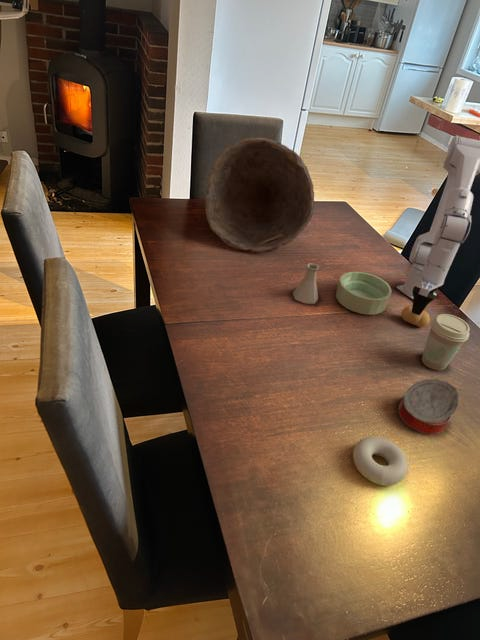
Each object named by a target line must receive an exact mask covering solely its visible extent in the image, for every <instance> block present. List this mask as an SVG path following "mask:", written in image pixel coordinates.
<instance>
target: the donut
mask: <svg viewBox="0 0 480 640" xmlns="http://www.w3.org/2000/svg"><path fill="white" fill-rule="evenodd" d="M374 455H375V456H376V455H377V456H379V457H382V458H384V460H386V461H387V463H388V465H382V464H379V463H378V462H376V461H375V460H374V458H373V456H374ZM352 458H353V464H354V465H355V467H356V470H357V471H358V472H359V473H360V475H362V476H363V477H364V478H366V480H368V481H370V482H372V483H374V484H377V485H379V486H386V487H387V486H394V485H397V484H399V483H400V482H403V480H404V479H405V477H406V476H407V474H408V469H409V464H408V459H407V456H406V454H405V453H404V452H403V449H401V448H400V447H399V446H398V445H397V444H396V443H395V442H393V441H391V440H389V439H388V438H385V437H382V436H375V435H373V436H372V435H371V436H366V437H364V438H362V439H360V440H359V441H358V442H357V443H356V444H355V446H354V447H353V452H352Z"/></svg>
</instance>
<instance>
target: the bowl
mask: <svg viewBox="0 0 480 640" xmlns="http://www.w3.org/2000/svg"><path fill="white" fill-rule="evenodd" d="M313 183H314V182H313V181H312V178H311V175H310V173H309V169H308V166H307V165H306V164H305V163H304V160H303V159H302V158H301V156H300V155H299V154H298V153H297V152H295V150H293V149H291V148H289V147H288V146H286V145H285V144H282V142H278V141H276V140H274V139H271V138H266V137H247V138H243V139H241V140H239V141H238V142H236V143H233V144H231V145H229V146H227V147H226V148H225V149H224V150H223V151H221V153H219V154H218V156H216V158H215V161H214V162H213V163H212V164H211V166H210V169H209V176H208V181H207V185H206V195H205V198H204V203H205V204H204V205H205V207H204V208H205V209H204V210H205V215H206V221H207V222H208V224H209V227H210V229H211V231H212V232H213V233H215V234H216V235H217V237H219V238H220V239H221V240H222V241H223V243H224V244H226V245H227V246H229V247H232V248H233V249H235V250H239V251H240V250H241V251H246V252H247V251H251V253H265V252H271V251H275V250H277V249H278V248H280V247H282V246H283V247H284V246H285V245H287V244H290V243H291V242H293V241H294V240H295V239H296V238H297V237H298V236H299V235H300V234H301V233H302V232H303V231H304V230H305V229H306V228H307V226H308V224H309V223H310V221H311V220H312V218H313V214H314V210H315V191H314V184H313Z"/></svg>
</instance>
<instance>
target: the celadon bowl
mask: <svg viewBox="0 0 480 640" xmlns="http://www.w3.org/2000/svg"><path fill="white" fill-rule="evenodd" d="M392 292H393V290H392V288H391V286H390V285H389V283H388V282H387V281H385V280H384V279H383V278H381V277H378V276H376V275H374V274H372V273H368V272H362V271H348V272H345V273H343V274H342V275H341V276H340V278H339V281H338V284H337V288H336V291H335V299H336V300H337V301H338V303H339V304H340V305H341V306H342V307H344V308H346V309H348V310H349V311H351V312H353V313H354V312H355V313H357V314H360V315H366V316H367V315H369V316H370V315H371V316H372V315H378V314H381V313H382V312H384V311H386V308H387V306H388V304H389V300H390V297H391V295H392Z"/></svg>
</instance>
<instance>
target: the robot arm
mask: <svg viewBox="0 0 480 640" xmlns="http://www.w3.org/2000/svg"><path fill="white" fill-rule="evenodd" d="M442 167H443V169H444V170H445V171H446V172H447V178H446V183H445V185H444V189H443V191H442V195H441V197H440V200H439V203H438V206H437V209H436V212H435V215H434V218H433V221H432V223H431V226H430V229H429V231H428V232H425V233H422V234H419V235H418V236H417V237H416V240H415V242H414V244H413V246H412V248H411V251H410V255H409V262H410V264H411V266H410V269H409V271H408V274H407V275H406V279H405V280H404V284H400V285H397V286H396V289H397V290H398V291H400V292H401V293H402V294H404V295H406V297H408V298H410V299H411V300H412V305H411V306H412V313H414V314H416V315H420V314H421V313H422V312H423V311H425V309H426V308H427V306H428V305H429V304H430V303H431V302H433V301H434V300H435V299H436V297H437V293H436V292H437V290H438V289H439V288H440V287H442V286H443V285H444V284H445V279H446V277H447V275H448V273H449V270H450V268H451V266H452V264H453V261H454V259H455V257H456V254H457V252H458V250H459V248H460V246H461V244H464V243H465V242H466V240H467V237H468V236H469V234H470V231H471V226H472V215H471V211H472V206H473V201H474V193H473V192H472V191H471V189H472V186H473V182H474V180H475V178H476V176H478V175H479V174H480V140H479V139H473V138H470V137H464V136H459V135H458V134H456V135H455V136H453V137H452V139H451V141H450V143H449V146H448V149H447V151H446V154H445V158H444V161H443V166H442Z"/></svg>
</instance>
